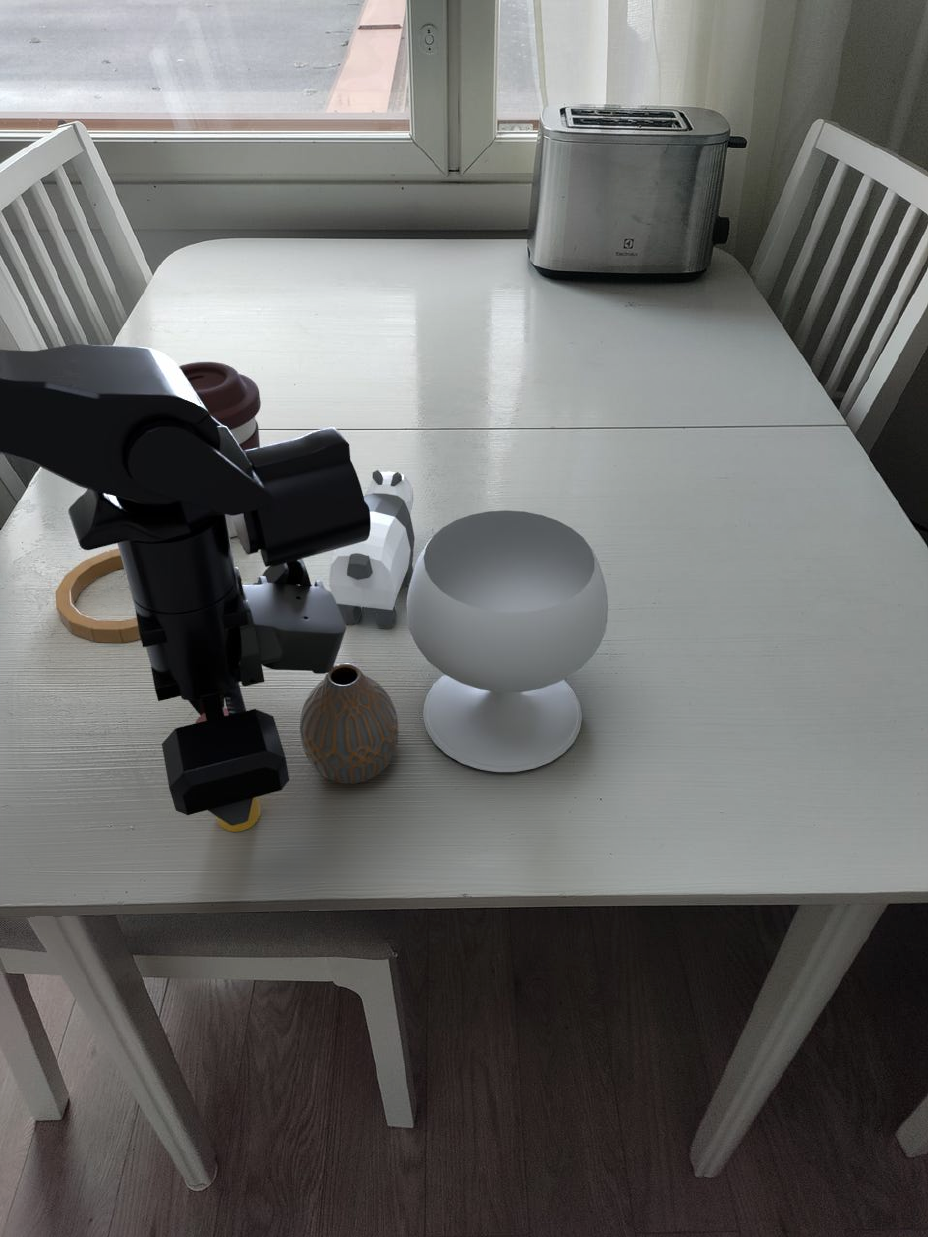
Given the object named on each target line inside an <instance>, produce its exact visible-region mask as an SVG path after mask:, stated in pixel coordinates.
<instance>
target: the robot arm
mask: <svg viewBox="0 0 928 1237" xmlns="http://www.w3.org/2000/svg"><path fill="white" fill-rule="evenodd" d="M179 366H180V365H178V364H177V363H176V362H175V360H174V359H172V358H170V357H169V356H167V355H166V354H165V353H162V352H160V351H157V350H154V349H152V348H149V347H141V346H128V345H127V346H126V345H122V346H121V345H105V344H104V345H103V344H85V343H84V344H83V343H82V344H81V343H74V344H68V345H63V346H57V347H52V348H45V349H39V350H11V349H10V350H9V349H1V348H0V455H5V456H8V457H11V458H15V459H18V460H22V461H25V462H28V463H30V464H33V465H36V466H38V467H40V468H42V469H44V470H46V471H48V472H50V473H51V474H53V475H56V476H58V477H60V478H62V479H63V480H65V481H68V482H69V483H71V484H73V485H75V486H78V487H79V488H83V489H86V491H85V492H84V493H83V494H82V495H80V496H79V497H77V499H76V500H75V501H74V503H72V504H71V505H70V506H69V508H68V512H67V513H68V517H69V519H70V522H71V525H72V528H73V530H74V533H75V537H76V539H77V542H78V544H79V547H80V548H81V549H82V550H84V551H91V550H96V549H100V548H103V547H108V546H111V545H116V544H117V547H118V548H117V549H119V551H120V555H121V559H122V562H123V566H124V568H123V569H124V573H125V577H126V580H127V584H128V587H129V592H130V595H131V598H132V602H133V605H134V610H135V616H136V617H137V623H138V629H139V634H140V638H141V639H140V641H141V645H142V648H145V649H146V653H147V656H148V660H149V664H150V670H151V675H152V681H153V687H154V692H155V695H156V698H157V701H158V702H163V701H165V700H170V699H174V698H179V697H180V698H181V700H183V701H187V702H188V703H189V704H190V705H191V706H192V707H193V708H194V710H195V712H197V713H198V715H199V717H200V716H201V715H202V714H204V713H205V716H206V720H207V721H203V722H199V723H192V724H187V725H182V726H178V727H175V728H174V729H173V730H172V731H171V732H170V733H169V735H168V736H167V737H166V738H165V739H164V740H163V742H161V747H162V749H161V750H162V754H163V760H164V765H165V770H166V771H165V772H166V777H167V782H168V783H167V784H168V789H169V792H170V796H171V799H172V803H173V806H174V809H175V811H176V812H178V813H180V814H184V815H186V816H191V815H194V814H199V813H202V812H207V811H208V812H209V813H210V814H212V815H213V816H215V817H216V816H217V817H218V818H220V819H222V820H223V821H225V822H226V823H228V824H229V825H231V826H234V825H237V824H241V823H245V822H247V821H248V819H249V815H250V810H251V806H252V801H253V798H254V797H258V798H259V797H262V796H265V795H270V794H273V793H277V792H281V791H282V790H283V789H284V788H285V787H286V786H287V785H288V783H289V782H290V775H289V770H288V763H287V758H286V755H285V751H284V747H283V744H282V741H281V737H280V734H279V731H278V727H277V724H276V722H275V717H274V716H273V715H271V714H269V713H266V712H264V711H261V710H259V709H257V708H253V709H249V710H247V708H246V705H245V701H244V697H243V694H242V690H241V686H240V683H241V685H242V686H243V687H249V686H253V685H257V684H258V685H259V684H262V683H265V677H264V669H263V667H265V668H267V669H270V670H273V671H274V670H275V671H300V672H301V671H303V672H312V673H313V674H315V675H323V674H324V675H326V674H327V673H328V672H330V671H331V670H332V669H333V666H335V664H336V661H337V657H338V654H339V651H340V648H341V646H342V642H343V640H344V636H345V634H346V631H347V624H345V622H344V619H343V617H342V615H341V612H340V610H339V608H338V605H337V603H336V601H335V598H334V596H333V595H332V593H331V591H329V590H328V589H326V588H325V586H324V584H323V581H322V580H315V582H314V585H313V584H312V583H311V582H312V581H311V579H310V575H309V572H308V570H307V566H306V565H305V562H304V559H306V558H309V557H313V556H317V555H321V554H324V553H327V552H332V551H335V550H336V549H339V548H342V547H346V546H349V545H353V544H356V543H360V542H363V541H366V540H367V539H368V537H369V535H370V529H371V518H370V509H369V506H368V505H367V503H366V502H365V501H364V496H365V495H364V493H363V490H362V489H363V488H362V486H361V482H360V479H359V476H358V474H357V471H356V469H355V466H354V464H353V462H352V459H351V450H350V449H351V448H350V443H349V442H348V441H347V440H346V439H345V437H344V436H343V435H342V433H341V432H340V431H339V430H338V429H337V428H336V427H335V426H331V427H327V428H326V427H325V428H322V429H318V430H314V431H311V432H310V433H308V434H305V435H303V436H301V437H297V438H294V439H293V438H292V439H290V440H289V439H288V440H285V441H281V442H277V443H272V444H269V445H264V446H260V447H259V448H255V449H250V450H246V451H244V452H243V451H242V449H241V448H240V446H239V444H238V443H237V441H236V440H235V438H234V437H233V435H232V434H231V432H230V431H229V429H228V428H227V427H226V426H223V425H222V424H221V423H219V422H218V421H217V420H216V419H214V418H213V417H212V416H211V415H210V414H209V412H208V411H207V409H206V407H205V406H204V404H203V403H202V401H201V400H200V398H199V397H198V395H197V393H196V392H195V390H194V389H193V387H192V386H191V384H190V383H189V381H188V379H187V378H186V376H185V375H184V373H183V372H182V370H181V369H180V367H179ZM225 514H227V515H230V516H231V517H232V520H233V524H234V527H235V530H236V533H237V536H236V537H237V538H238V541H239V543H240V546H241V548H242V549H243V551H244V553H245V554H246V555H248V556H249V555H252V554H256V553H259V551H260V556H261V559H262V561H263V564H264V567H265V568H266V569H265V571H264V572H263V573H262V575H259V577H258V580H257V582H254V583H253V584H243V582H242V577H241V574H240V570H239V568H238V567H236V566H235V565H236V564H235V561H234V560H235V559H234V555H233V549H232V544H231V537H229V532H228V527H227V521H226V516H225ZM136 617H135V618H136ZM225 706H226V708H227V710H228V714H229V715H228V716H224V712H223V708H225Z"/></svg>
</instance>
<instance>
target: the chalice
mask: <svg viewBox="0 0 928 1237" xmlns="http://www.w3.org/2000/svg"><path fill="white" fill-rule="evenodd" d="M608 614H609V598H608V590H607V584H606V580H605V577H604V574H603V571H602V568H601V564H600V562H599V559H598V558H597V555H596V553H595V551H594V550H593V548H592V547H591V545H590V544H589V543H588V542H587V541H586V539H585V538H584V537H583V536H582V535H581V534H580V533H579V532H577V531H576V530H574V528H572V527H570V526H569V525H566V524H564V523H563V522H561V521H559V520H557V519H555V518H551V517H548V516H546V515H543V514H538V513H534V512H530V511H529V512H528V511H520V510H507V509H505V510H491V511H483V512H479V513H473V514H471V515H467V516H464V517H461V518H458V519H456V520H453V521H452V522H450V523H448V524H447V525H444V526H443V527H441V529H439V530H438V531H437V532H436V533H435V534H434V535H433V536H432V537H431V538H430V539H429V540H428V541H427V543H426V544H425V546H424V548H423V550H422V551H421V553H420V554H419V556H418V557H417V560H416V562H415V565H414V567H413V574H412V578H411V581H410V584H409V585H408V590H407V596H406V616H407V625H408V626H407V627H408V630H409V633H410V635H411V637H412V640H413V642H414V644H415V646H416V648H417V649H418V650H419V652H420V653H421V654H422V655H423V657H424V658H425V659H426V661H428V663H430V665H432V666H433V667H435V668H436V669H437V670H438V671H440V672H441V673H442V674H443V675H442V676H441V677H439V679H438V680H436V681H435V682H434V683H433V685H432V686H431V688H430V689H429V691H428V692H427V694H426V697H425V699H424V700H425V701H424V703H423V706H422V708H423V712H422V716H423V717H422V719H423V723H424V726H425V729H426V732H427V734H428V735H429V737H430V738H431V740H432V741H433V743H434V744H435V745H436V747H437V748H439V749H440V750H441V751H442V752H443V753H444V754H445V755H447V756H449V757H450V758H452V759H454V760H455V761H457V762H459V763H460V764H463V765H465V766H468V767H471V768H475V769H477V770H482V771H487V772H494V773H495V772H496V773H518V772H523V771H528V770H532V769H536V768H539V767H541V766H542V767H543V766H544V765H547V764H549V763H552V762H553V761H554V760H556V759H558V758H559V757H560V756H562V755H564V754H565V753H566V752H567V751H568V750H569V748H570V747H571V746H572V745H573V744H574V743H575V742H576V739H577V737H578V735H579V733H580V731H581V727H582V720H583V714H582V707H581V703H580V701H579V699H578V697H577V695H576V693H575V691H574V689H572V688H571V686H569V684H568V683H567V681H565V679H567V678H569V677H570V676H572V675H573V674H575V673H576V672H578V671H580V670H581V669H583V667H584V666H586V664H587V663H588V662H590V660H591V659H592V658H593V657H594V655H595V654H596V652H597V651H598V649H599V648H600V646H601V643H602V642H603V639H604V637H605V634H606V632H607V631H606V630H607V625H608V617H609V615H608Z"/></svg>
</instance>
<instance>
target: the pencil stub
mask: <svg viewBox="0 0 928 1237" xmlns="http://www.w3.org/2000/svg"><path fill="white" fill-rule="evenodd" d="M223 712H224V716H228V715H229V714H228V710H227V707H224V708H223ZM203 721H207V720H206V716H205V713H204V714H202V715H201V716H200V715H199V717H198V718H197V719H196V721H195V723H199V722H203ZM195 723H194V724H195ZM261 813H262V810H261V804H260V798H259V796H258V797H254V798H253V801H252V806H251V810H250V815H249V819H248V821H247V822H245V823H241V824H237V825H234V826H231V825H229V824H228V823H226V822H225V821H223V820H222V819H220V818H218V817H217V816H215V818H216V822H217V824H218V826H219V827H220V828H222V829H223V830H225V831H227V832H233V833H235V832H236V833H238V832H243V831H246V830H249V829H250V828H252V827H253V826H254V825H255V824H256V823H257V822H258V821H259V818H260V816H261Z"/></svg>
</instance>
